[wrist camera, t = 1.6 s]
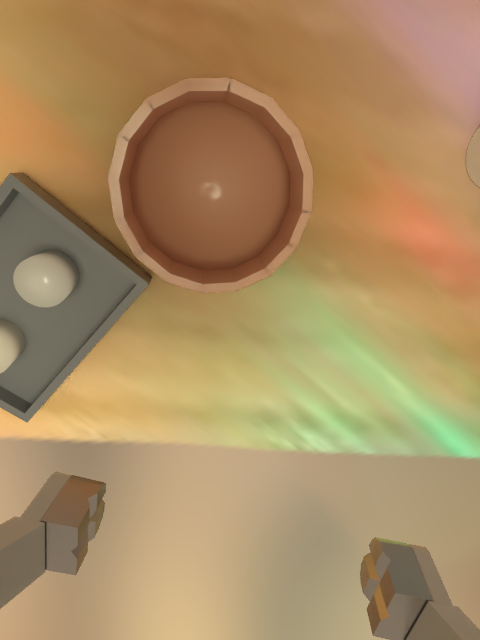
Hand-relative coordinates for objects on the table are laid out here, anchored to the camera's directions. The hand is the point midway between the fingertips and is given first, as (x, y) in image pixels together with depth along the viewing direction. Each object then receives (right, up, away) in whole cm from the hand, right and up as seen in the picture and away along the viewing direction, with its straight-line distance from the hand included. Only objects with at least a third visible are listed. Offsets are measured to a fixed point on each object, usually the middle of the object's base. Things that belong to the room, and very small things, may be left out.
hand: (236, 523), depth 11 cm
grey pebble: (-17, +10, +24) cm, 31 cm away
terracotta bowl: (-3, +18, +23) cm, 30 cm away
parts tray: (-21, +8, +25) cm, 34 cm away
